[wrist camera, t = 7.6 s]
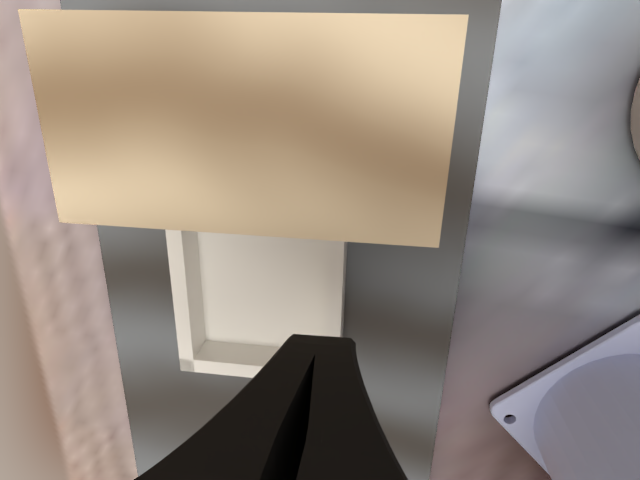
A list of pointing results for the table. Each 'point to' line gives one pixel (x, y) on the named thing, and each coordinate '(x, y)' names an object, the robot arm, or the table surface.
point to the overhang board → (372, 286)
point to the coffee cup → (636, 120)
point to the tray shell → (251, 296)
